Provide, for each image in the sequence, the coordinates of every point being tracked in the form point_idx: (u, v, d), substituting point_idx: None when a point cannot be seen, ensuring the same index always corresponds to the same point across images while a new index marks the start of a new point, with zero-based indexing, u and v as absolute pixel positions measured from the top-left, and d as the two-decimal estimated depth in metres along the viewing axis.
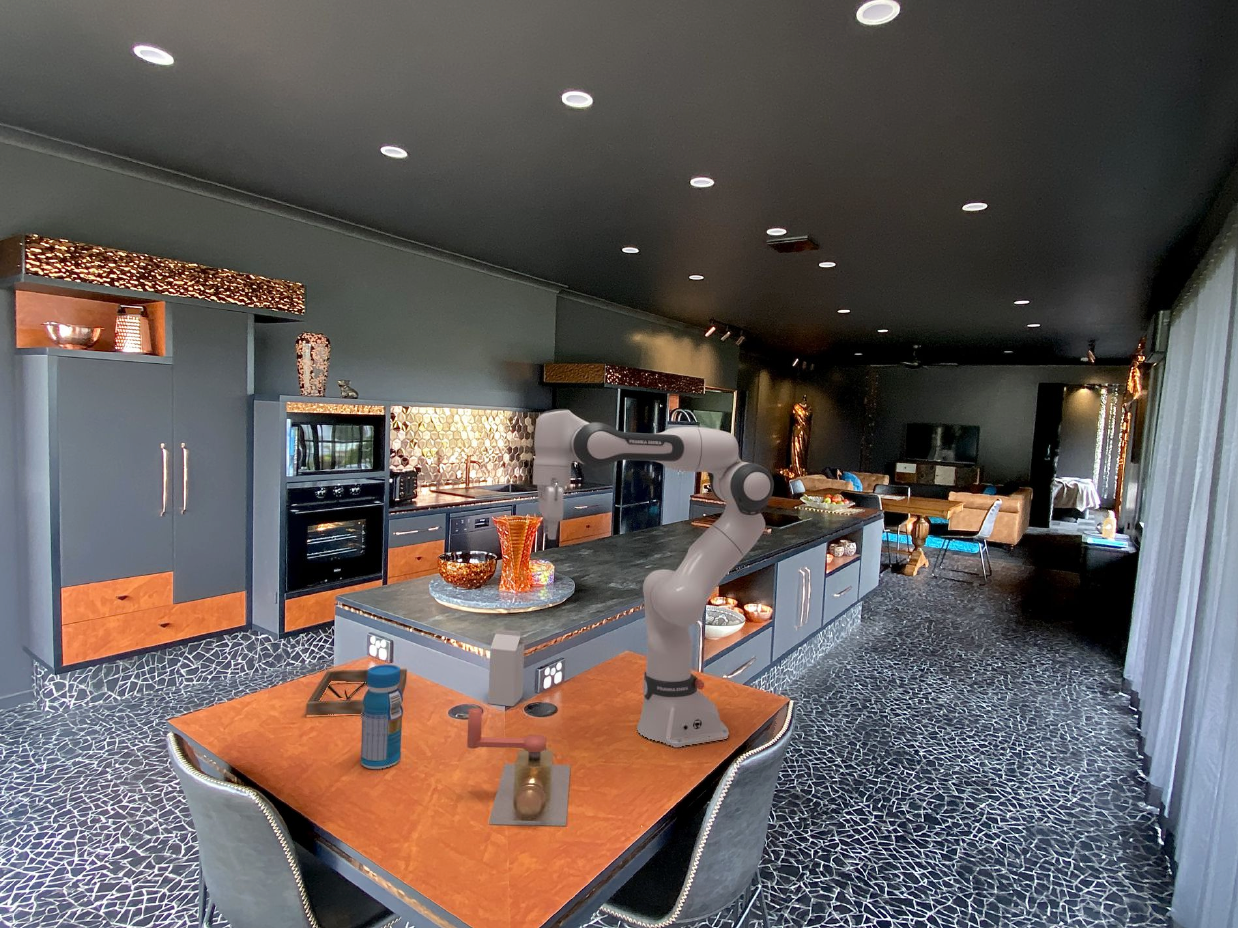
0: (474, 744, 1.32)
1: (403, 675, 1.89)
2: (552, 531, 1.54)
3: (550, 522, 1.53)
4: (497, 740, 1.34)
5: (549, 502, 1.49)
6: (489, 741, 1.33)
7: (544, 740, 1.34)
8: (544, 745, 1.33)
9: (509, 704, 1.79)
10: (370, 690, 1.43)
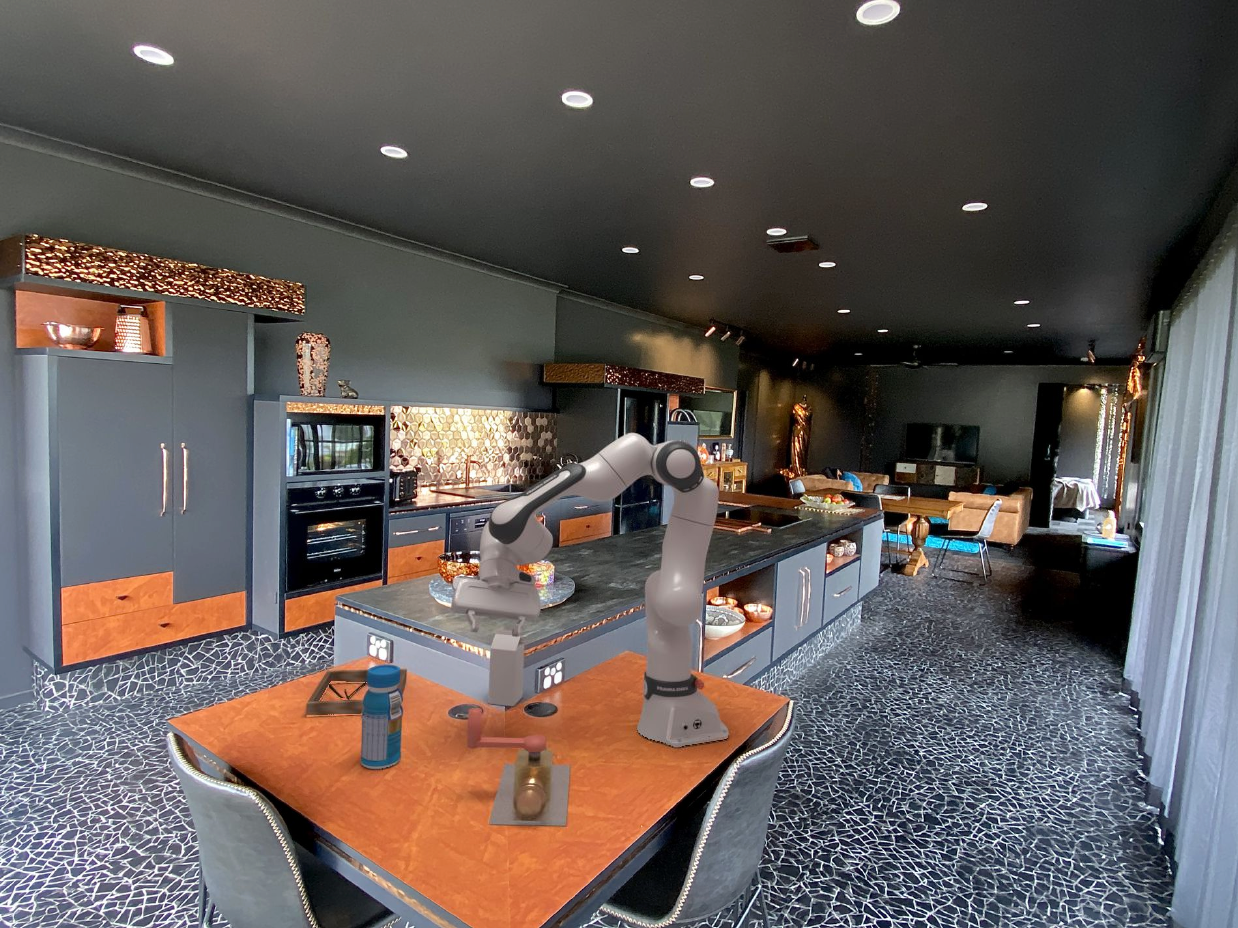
0: (474, 744, 1.32)
1: (403, 675, 1.89)
2: (471, 622, 1.50)
3: (466, 615, 1.51)
4: (497, 740, 1.34)
5: None
6: (489, 741, 1.33)
7: (544, 740, 1.34)
8: (544, 745, 1.33)
9: (509, 704, 1.79)
10: (370, 690, 1.43)
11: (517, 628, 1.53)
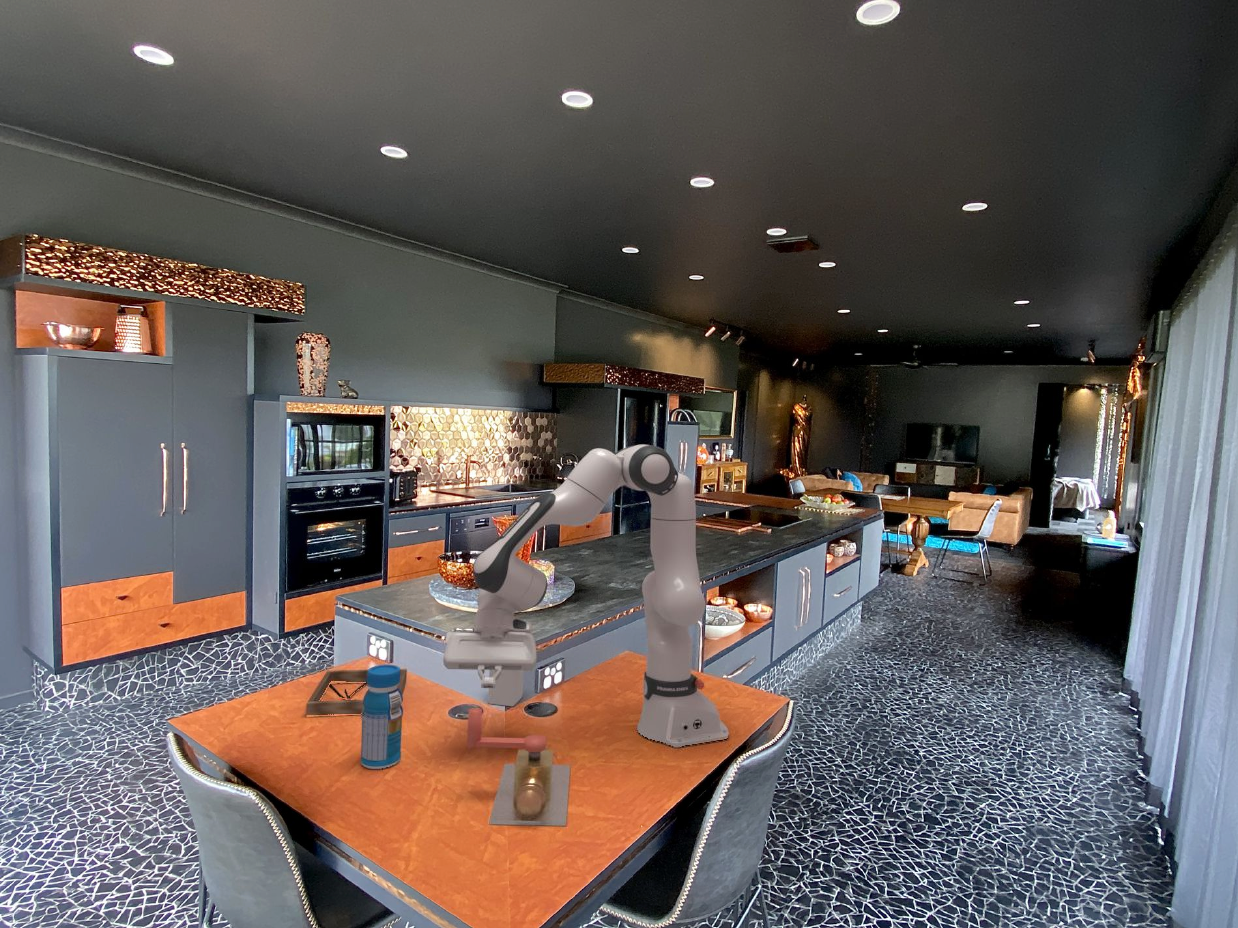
0: (474, 744, 1.32)
1: (403, 675, 1.89)
2: (481, 678, 1.46)
3: None
4: (497, 740, 1.34)
5: None
6: (489, 741, 1.33)
7: (544, 740, 1.34)
8: (544, 745, 1.33)
9: (509, 704, 1.79)
10: (370, 690, 1.43)
11: (492, 679, 1.45)
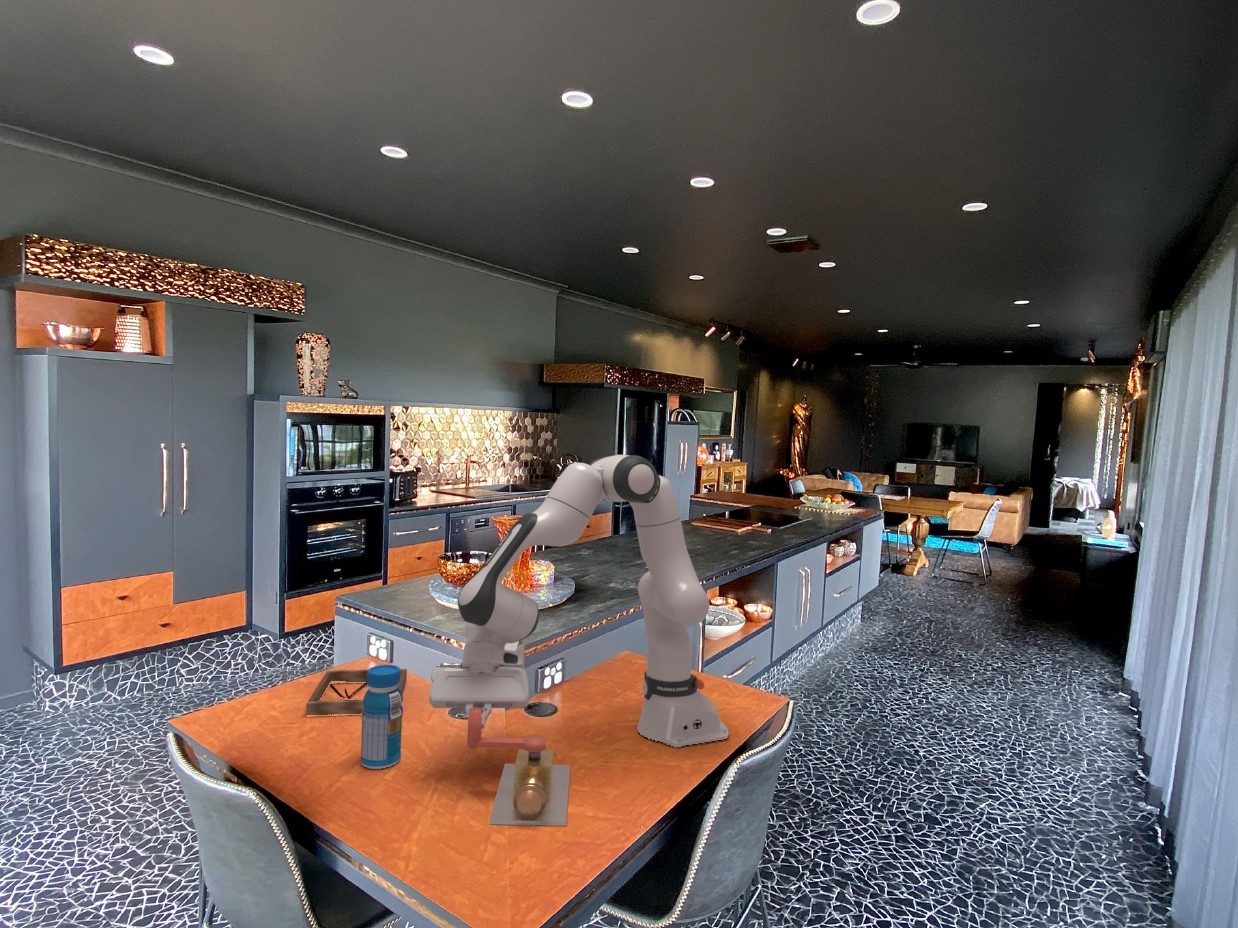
0: (474, 744, 1.32)
1: (403, 675, 1.89)
2: None
3: None
4: (497, 740, 1.34)
5: None
6: (489, 741, 1.33)
7: (544, 740, 1.34)
8: (544, 745, 1.33)
9: None
10: (370, 690, 1.43)
11: None
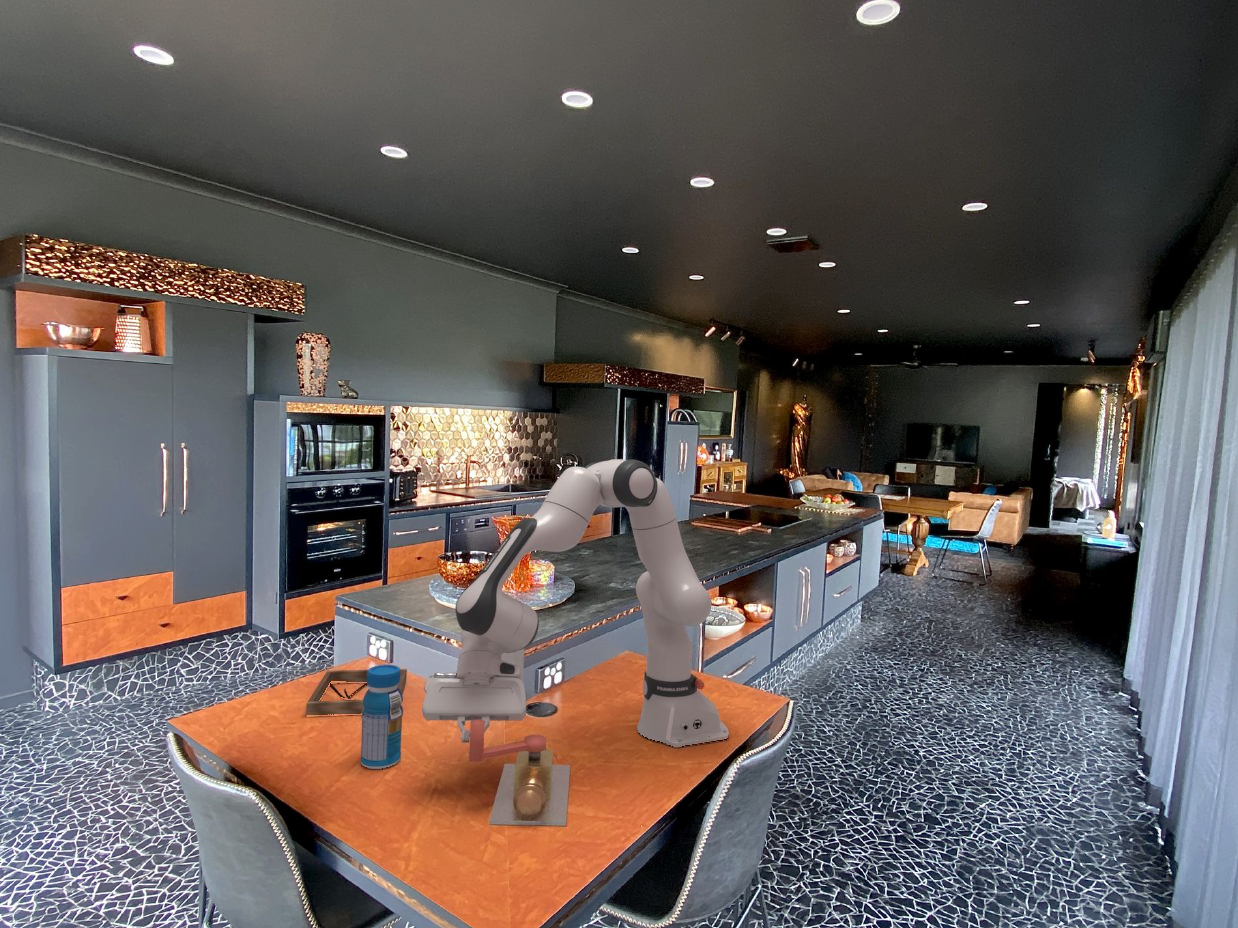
0: (479, 757, 1.27)
1: (403, 675, 1.89)
2: (461, 731, 1.31)
3: None
4: (500, 748, 1.30)
5: None
6: (493, 750, 1.29)
7: (544, 738, 1.35)
8: None
9: None
10: (370, 690, 1.43)
11: None
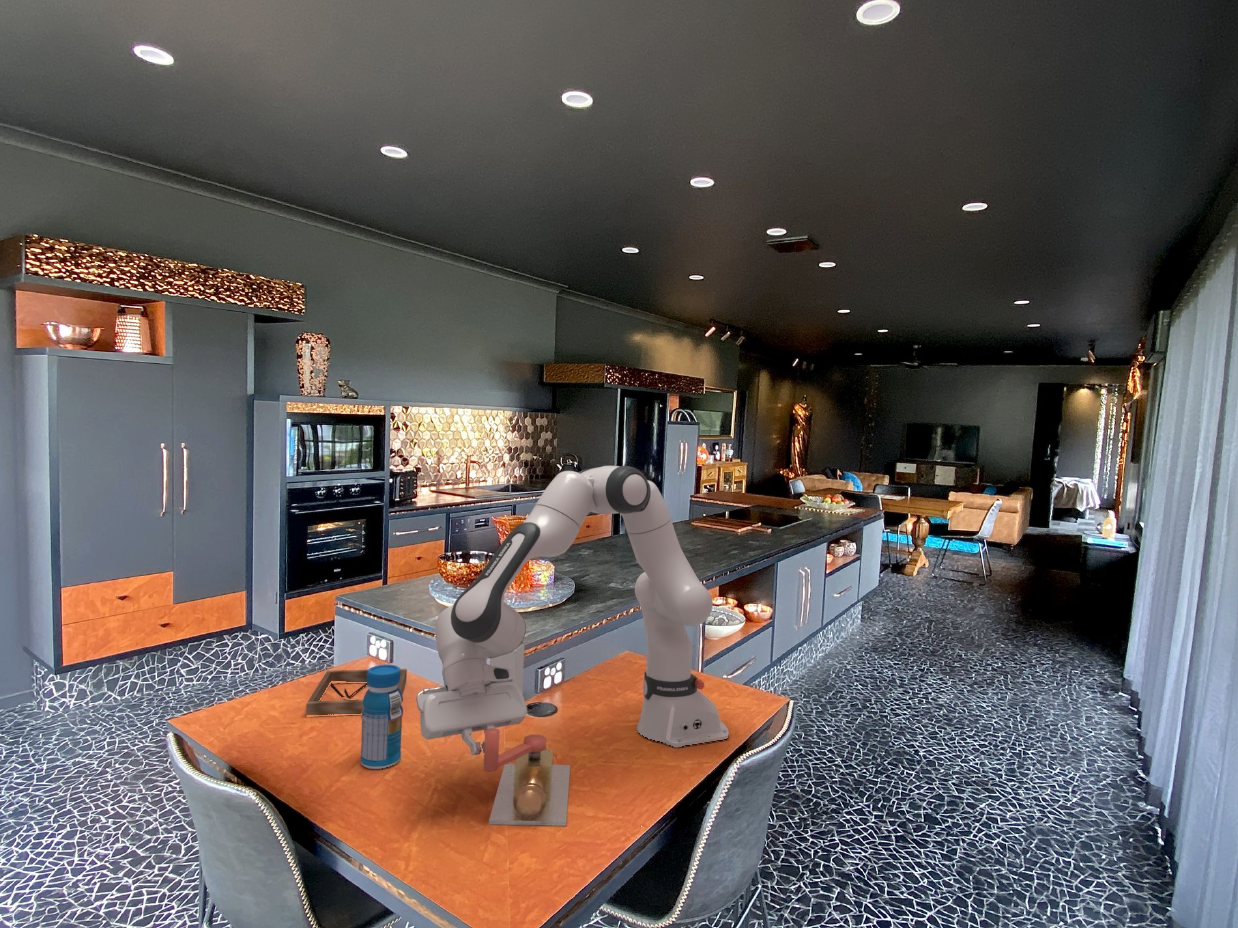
0: (496, 766, 1.24)
1: (403, 675, 1.89)
2: (470, 744, 1.25)
3: (462, 735, 1.26)
4: (509, 754, 1.28)
5: (420, 718, 1.26)
6: (505, 757, 1.26)
7: (542, 736, 1.35)
8: None
9: None
10: (370, 690, 1.43)
11: None
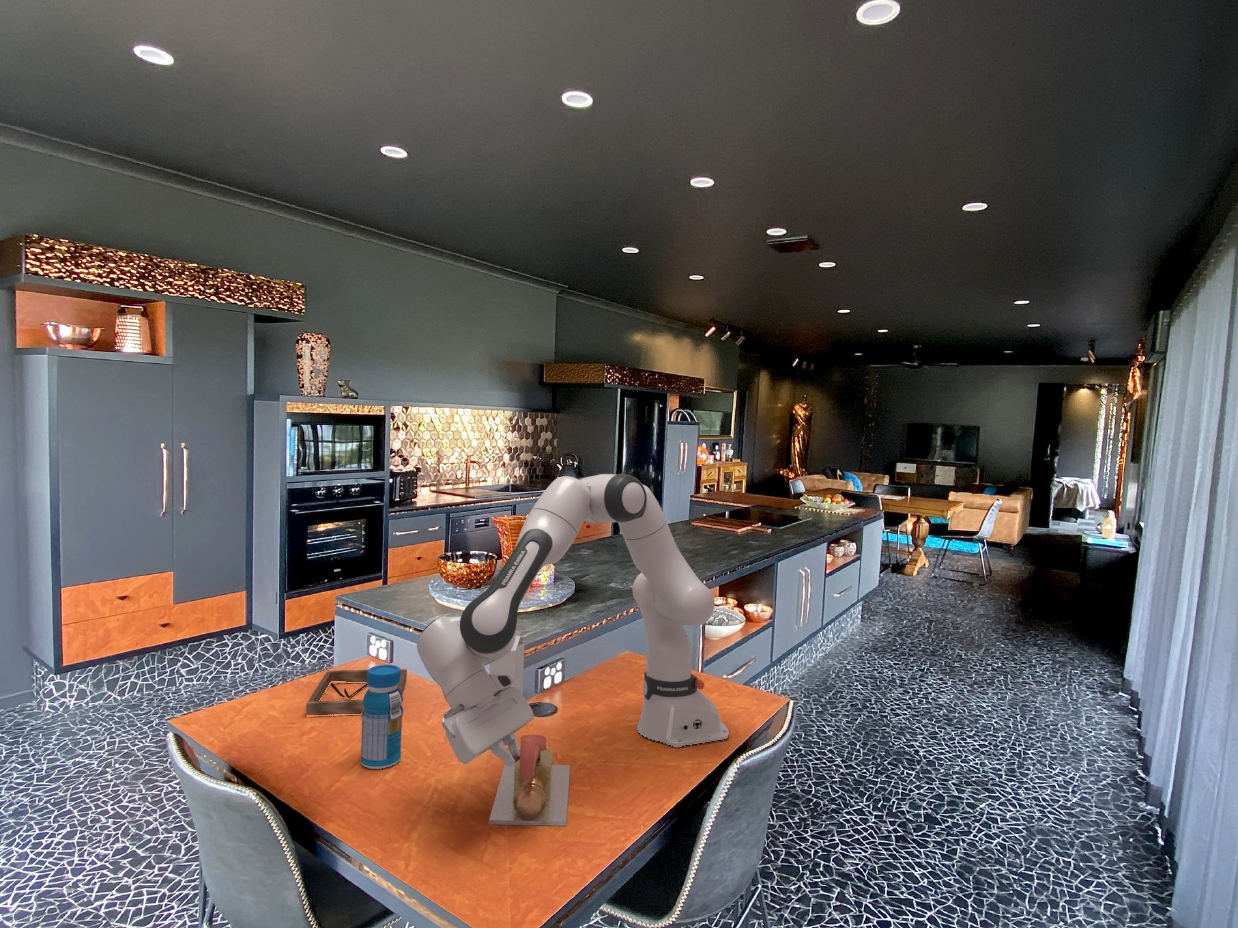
0: (533, 771, 1.22)
1: (403, 675, 1.89)
2: (505, 756, 1.21)
3: (493, 750, 1.21)
4: None
5: (450, 744, 1.16)
6: None
7: (538, 735, 1.36)
8: None
9: None
10: (370, 690, 1.43)
11: (517, 751, 1.23)
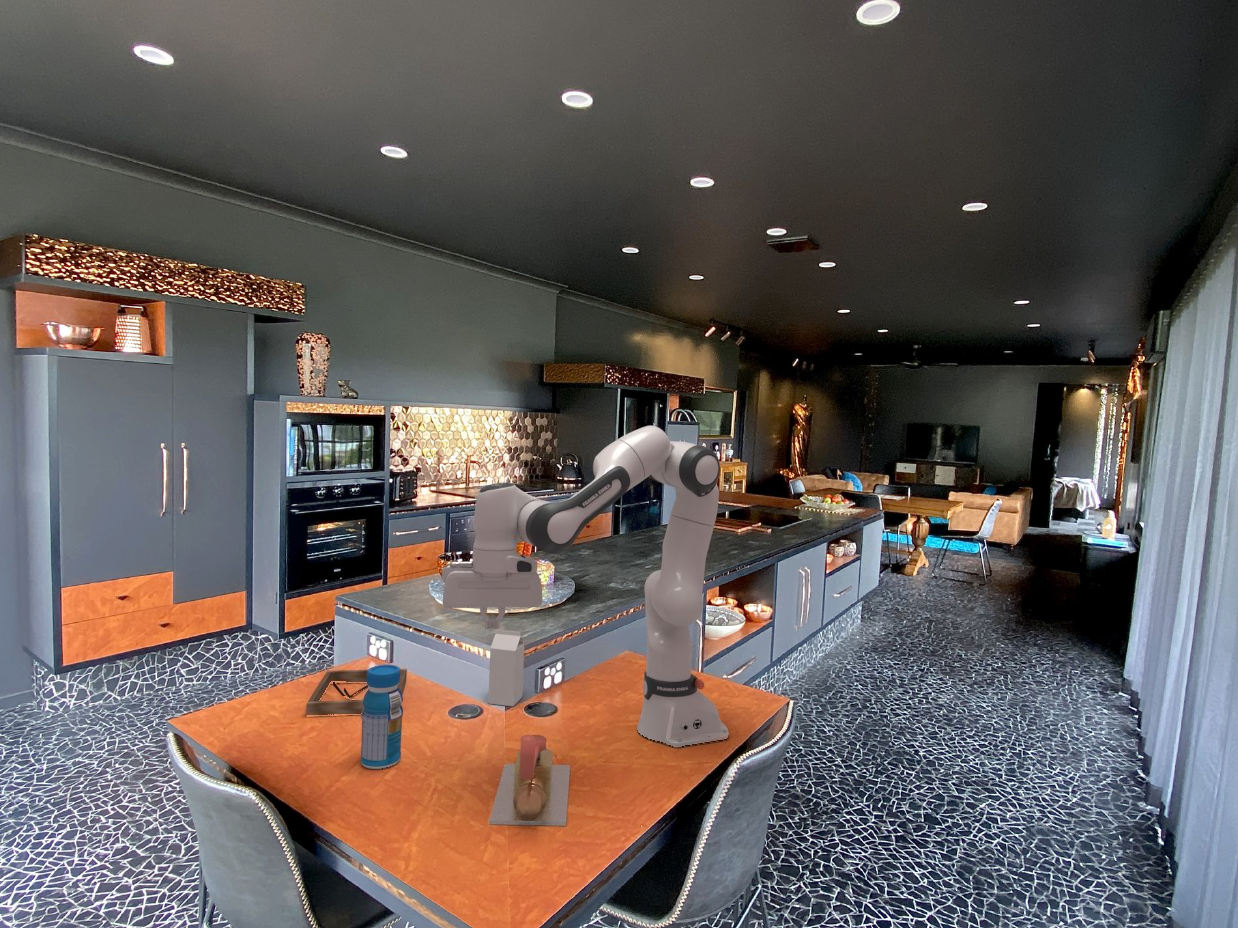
0: (533, 771, 1.22)
1: (403, 675, 1.89)
2: None
3: None
4: None
5: None
6: None
7: (538, 735, 1.36)
8: None
9: (509, 704, 1.79)
10: (370, 690, 1.43)
11: (496, 623, 1.39)
